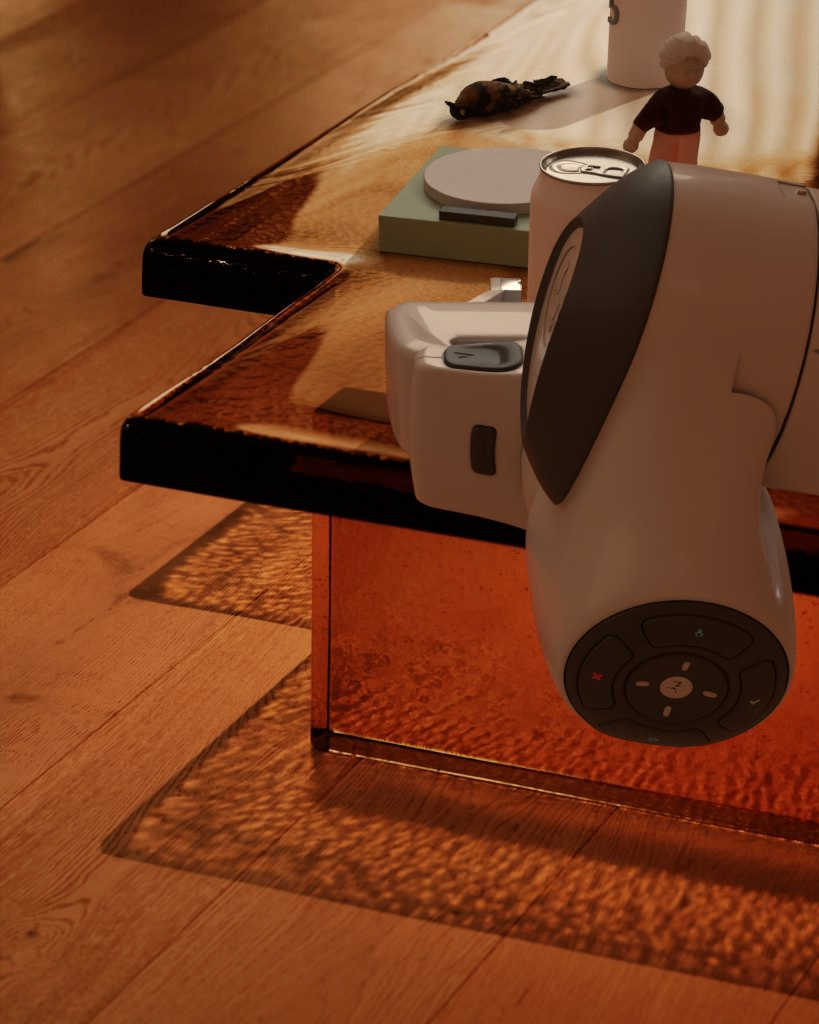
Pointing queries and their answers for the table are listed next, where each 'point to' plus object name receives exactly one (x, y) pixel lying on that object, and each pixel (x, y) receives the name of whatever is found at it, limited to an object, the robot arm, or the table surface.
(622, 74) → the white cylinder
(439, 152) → the scale
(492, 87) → the bird model
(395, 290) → the table surface
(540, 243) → the can
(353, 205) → the table surface
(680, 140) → the grandmother figurine
